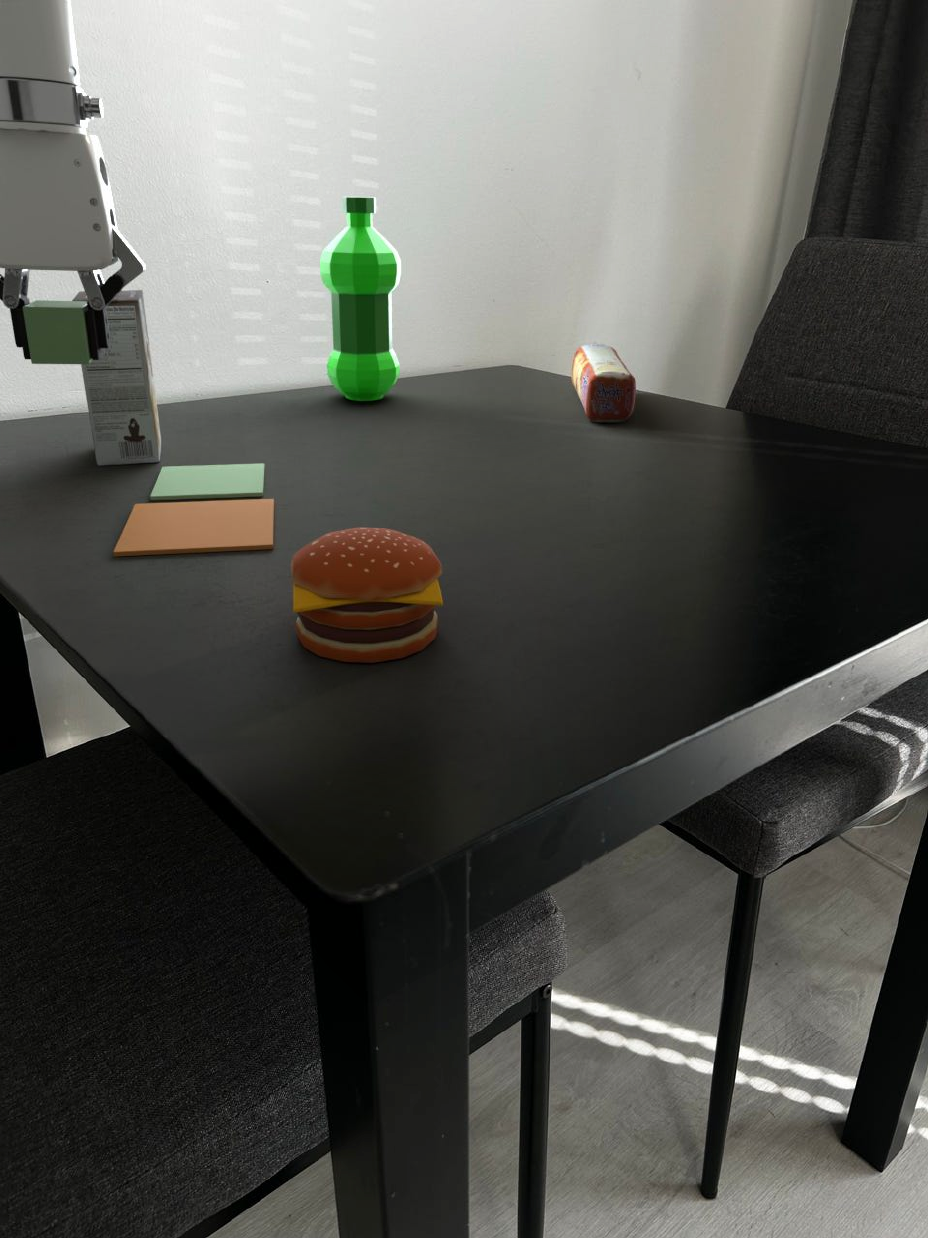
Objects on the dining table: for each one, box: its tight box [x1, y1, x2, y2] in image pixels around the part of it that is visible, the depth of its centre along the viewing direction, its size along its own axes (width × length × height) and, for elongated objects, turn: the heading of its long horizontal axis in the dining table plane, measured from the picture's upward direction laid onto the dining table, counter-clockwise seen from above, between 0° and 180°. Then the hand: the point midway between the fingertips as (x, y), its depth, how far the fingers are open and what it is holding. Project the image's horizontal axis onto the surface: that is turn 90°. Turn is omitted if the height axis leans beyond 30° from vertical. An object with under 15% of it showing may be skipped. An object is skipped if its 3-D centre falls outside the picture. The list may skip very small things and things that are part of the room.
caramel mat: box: [112, 498, 275, 557], centre depth 76 cm, size 12×12×1 cm
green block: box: [23, 299, 93, 365], centre depth 76 cm, size 4×4×4 cm
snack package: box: [570, 343, 637, 423], centre depth 121 cm, size 21×7×7 cm, turn 178°
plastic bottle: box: [319, 196, 402, 402], centre depth 120 cm, size 10×10×25 cm
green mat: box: [149, 463, 265, 501], centre depth 88 cm, size 10×10×1 cm
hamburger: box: [290, 526, 444, 664], centre depth 57 cm, size 9×10×7 cm
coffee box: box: [71, 289, 162, 467], centre depth 94 cm, size 9×6×16 cm
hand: (65, 354), depth 77 cm, fingers closed on green block, 4 cm apart
